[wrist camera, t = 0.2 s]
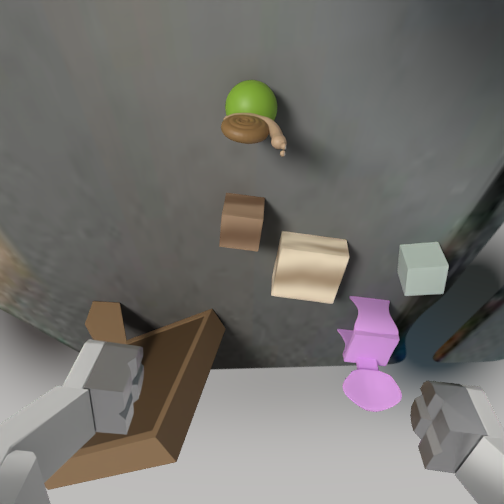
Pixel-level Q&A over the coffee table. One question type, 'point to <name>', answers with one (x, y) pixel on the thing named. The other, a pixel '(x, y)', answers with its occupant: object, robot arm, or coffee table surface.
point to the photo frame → (149, 395)
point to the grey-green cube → (422, 269)
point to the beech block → (309, 267)
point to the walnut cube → (242, 222)
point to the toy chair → (371, 356)
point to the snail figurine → (252, 115)
